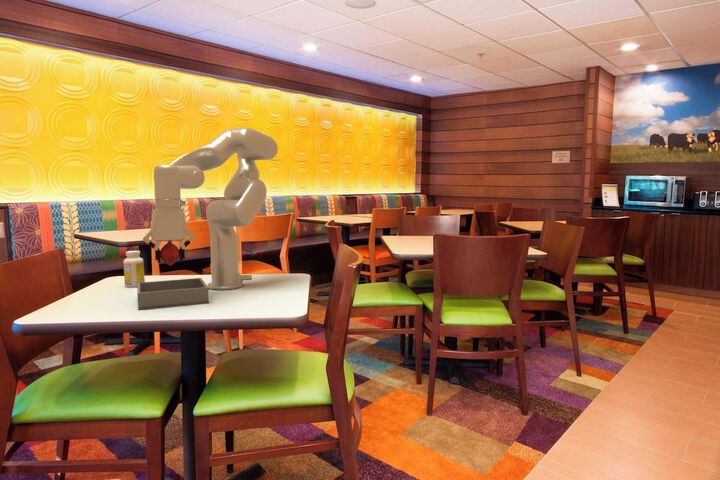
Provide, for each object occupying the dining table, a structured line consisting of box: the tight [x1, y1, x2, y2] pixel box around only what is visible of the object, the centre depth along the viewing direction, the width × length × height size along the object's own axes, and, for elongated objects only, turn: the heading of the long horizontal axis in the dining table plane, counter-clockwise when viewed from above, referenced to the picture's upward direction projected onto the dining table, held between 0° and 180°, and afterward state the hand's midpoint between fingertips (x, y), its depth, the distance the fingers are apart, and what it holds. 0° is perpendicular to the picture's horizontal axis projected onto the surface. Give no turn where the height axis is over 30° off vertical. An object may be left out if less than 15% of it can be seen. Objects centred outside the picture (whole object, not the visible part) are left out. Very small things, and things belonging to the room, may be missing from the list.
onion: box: [160, 241, 180, 267], centre depth 153 cm, size 6×6×8 cm
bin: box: [136, 277, 210, 311], centre depth 154 cm, size 20×18×5 cm
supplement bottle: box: [123, 250, 146, 288], centre depth 177 cm, size 7×7×13 cm
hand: (170, 261), depth 153 cm, fingers closed on onion, 5 cm apart
